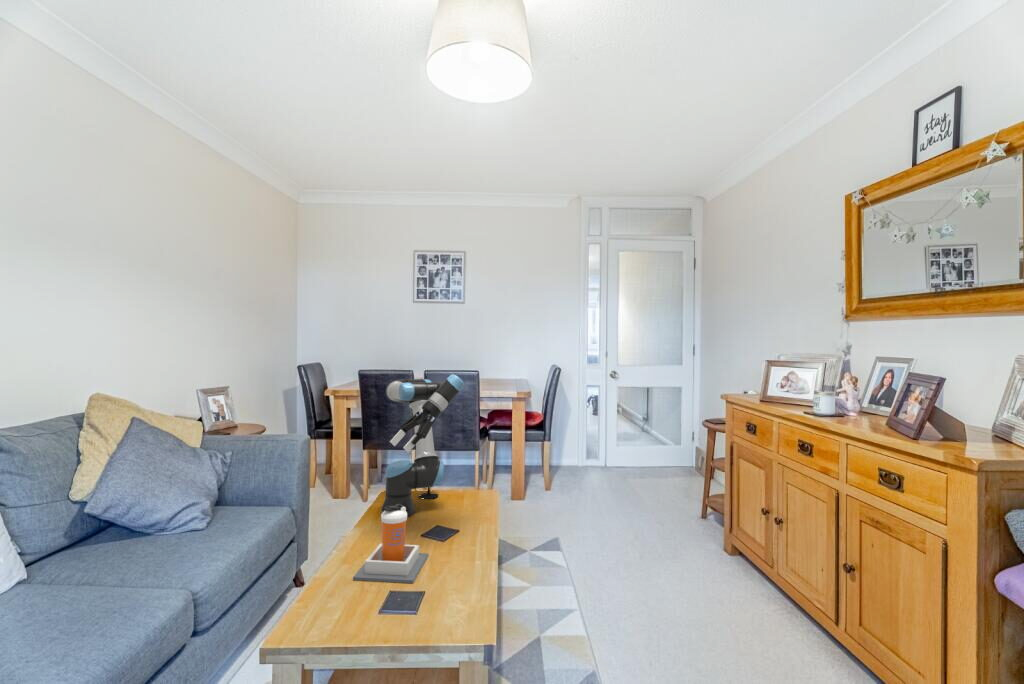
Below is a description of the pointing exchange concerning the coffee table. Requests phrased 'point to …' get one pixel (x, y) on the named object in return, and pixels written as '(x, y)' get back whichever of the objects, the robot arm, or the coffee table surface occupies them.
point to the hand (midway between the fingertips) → (398, 447)
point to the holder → (393, 566)
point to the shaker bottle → (393, 533)
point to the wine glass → (428, 495)
